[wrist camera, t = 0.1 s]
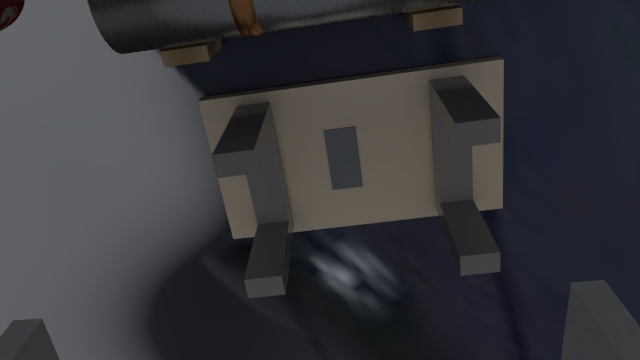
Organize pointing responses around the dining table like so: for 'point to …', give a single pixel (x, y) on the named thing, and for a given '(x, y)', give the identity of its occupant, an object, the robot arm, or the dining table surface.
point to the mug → (9, 12)
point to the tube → (229, 18)
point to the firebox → (361, 159)
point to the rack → (209, 49)
